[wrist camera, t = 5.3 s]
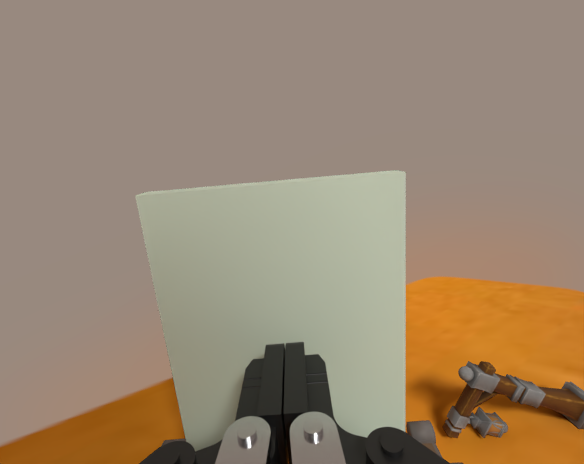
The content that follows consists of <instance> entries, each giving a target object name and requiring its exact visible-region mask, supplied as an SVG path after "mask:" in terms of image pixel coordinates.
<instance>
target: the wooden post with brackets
mask: <svg viewBox="0 0 584 464" xmlns="http://www.w3.org/2000/svg"><path fill="white" fill-rule="evenodd" d="M495 371H496V369H495V368H494V367H493V365H491V364H490V363H489V362H482V361H481V362H480V363H479V365H476V364H472V363H471V362H469V361H468V363H467V365H466V366H464V367H461V368H460V369H459V371H458V372H459V376H460V378H461V379H463V380H465V382H466V383H467V385H466V387H465V389H464V391H463V392H462V394H461V396H460V398H459V400H458V401H457V403H456V405H455V406H452V407H451V409H450V411H449V413H448V415H447V417H448V419H447V420H446V421H445V422H446V423H445V424H444V426H443V429H444V430H445V432H446V433H447V435H448V436H449V437H454V438H458V435H459V433H461V429H462V428H463V429H465V427H466V425H467V423H468V424H471V425H472V427H473V428H474V429H475V428H476V429H477V431H478V432H479V433H480V434H481V436H482V437H483V438H485V436H486V434H489V435H492V436H496V437H499V438H500V437H501V436H502V434H503V433H506V432H507V430H508V426H507V424H506V423H505V422H504V421H502V419H501V418H500V417H499V416H498V415H497V414H496V413H495V412H494V413H493V414H490V413H484V411H483V410H482V409H481V408H480V407H479V408H478V410H477V412H476V413H475V415H474V414H473V412H472V410H473V409H474V408H475V407H477V406H478V405H480V404H482V403H483V402H485V401H487V400H488V399H490V398H492V397H493V396H495V395H497V394H503V395H506V396H507V397H508V398H509V399H510V400H511V401H514V402H516V403H517V401H518V402H519V403H520V404H526V405H530V406H533V407H535V408H537V409H538V407H539V406H542V407H546V408H549V409H551V410H554V411H556V412H559V413H561V414H563V415H564V416H565V417H566V418H567V419H568V420H570V421H571V422H572V423H573V424H574V425H575V426H577V427H578V428H579V429H584V391H583V390H582V389H580V388H579V387H577V386H576V385H575V384H573V383H572V382H565V384H564V386H563V387H562V389H555V388H543V387H538V386H536V385H535V384H533V383H532V382H527V381H524V380H521V379H519V378H517V377H513V376H511V375H508V374H507V375H506V377H504V376H501V375H498V374H495ZM483 391H484V392H483ZM471 412H472V413H471ZM470 413H471V415H470ZM469 415H470V416H469Z"/></svg>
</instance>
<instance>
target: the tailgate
mask: <svg viewBox="0 0 584 464" xmlns="http://www.w3.org/2000/svg"><path fill="white" fill-rule="evenodd" d="M405 195H406V172H403V171H398V170H393V171H382V172H372V173H359V174H348V175H336V176H325V177H313V178H302V179H292V180H291V179H290V180H280V181H268V182H256V183H245V184H233V185H222V186H210V187H199V188H187V189H176V190H164V191H153V192H145V193H142V194H139V195H136V196H135V197H136V202H137V207H138V212H139V217H140V221H141V226H142V231H143V236H144V241H145V246H146V250H147V255H148V260H149V265H150V270H151V274H152V279H153V284H154V289H155V294H156V298H157V303H158V308H159V313H160V318H161V323H162V327H163V332H164V337H165V342H166V347H167V351H168V356H169V361H170V366H171V370H172V376H173V380H174V385H175V390H176V395H177V400H178V404H179V409H180V414H181V419H182V424H183V429H184V433H185V438H186V442H188V443H190V444H191V445H192V446H193V448H194V450H195V451H198V450H201V449H203V448H206V447H209V446H211V445H214V444H216V443H218V442H219V441H221V440H222V439H223V437H224V434H225V432H226V430H227V428H228V427H229V426H230V425H231V424H232V423H233V422H235V418H236V413H237V408H238V403H239V399H240V394H241V389H242V384H243V381H244V374H245V369H246V367H247V366H248V365H249V363H250V362H251V361H252V360H253V359H262V358H264V354H265V346H266V345H268V344H281V343H284V344H285V345H286V343H293V342H304V349H305V355H313V354H319V355H320V357H321V358H322V359H323V360H324V361H325V364H326V371H327V377H328V383H329V390H330V396H331V403H332V409H333V415H334V418H335V420H336V422H337V424H338V425H339V426H340V427H341V428H342V429H344V430H345V431H347V432H349V433H351V434H354V435H358V436H362V437H368V435H369V434H370V433H371V432H372V431H374V430H375V429H377V428H381V427H394V428H397V429H400V430H402V431H404V432H405V256H406V254H405V252H406V249H405V246H406V245H405V242H406V241H405V240H406V235H405V234H406V232H405V231H406V220H405V219H406V214H405V213H406V211H405V210H406V209H405V208H406V201H405V200H406V197H405Z"/></svg>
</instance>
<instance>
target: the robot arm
mask: <svg viewBox="0 0 584 464" xmlns="http://www.w3.org/2000/svg"><path fill="white" fill-rule="evenodd" d="M288 458H289V464H450V463H449V462H447V461H446V460H444V459H443V458H442V457H440V456H439V455H437V454H436V453H434V452H433V451H432V450H430V449H429V448H427V447H426V446H424V445H423V444H422V443H420V442H419V441H417V440H416V439H414V438H413V437H412V436H410V435H409V434H407V433H406V432H404V431H402V430H400V429H397V428H394V427H381V428H377V429H375V430H374V431H372V432H371V433H370V434H369V435H368V437H362V436H358V435H354V434H351V433H349V432H347V431H345V430H344V429H342V428H341V427H340V426H339V425H338V424H337V422H336V420H335V418H334V415H333V409H332V403H331V396H330V390H329V383H328V377H327V371H326V364H325V361H324V360H323V359H322V358H321V357H320V355H319V354H313V355H305V349H304V342H293V343H286V345H285V344H284V343H281V344H268V345H266V346H265V354H264V358H262V359H253V360H252V361H251V362H250V363H249V365H248V366H247V367H246V369H245V374H244V381H243V384H242V389H241V394H240V399H239V403H238V408H237V413H236V418H235V422H233V423H232V424H231V425H230V426H229V427H228V428H227V430H226V432H225V434H224V437H223V439H222V440H221V441H219V442H218V443H216V444H214V445H211V446H209V447H206V448H203V449H201V450H198V451H195V450H194V448H193V446H192V445H191V444H190V443H188V442H185V441H173V442H170V443H167V444H165V445H163V446H161V447H159V448H158V449H157V450H155V451H154V452H153V453H152V454H150V455H149V456H148V457H147V458H145V459H144V460H143V461H142V462H141V463H139V464H288Z"/></svg>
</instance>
